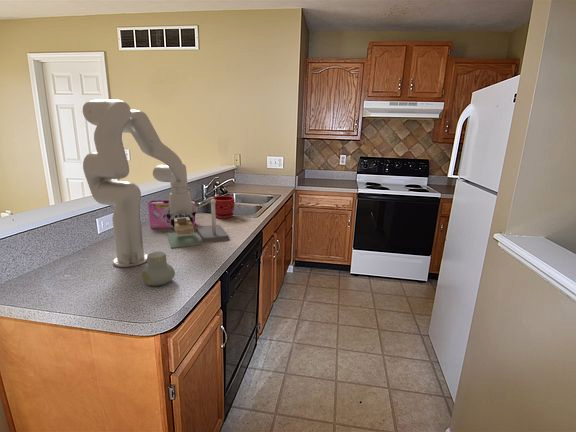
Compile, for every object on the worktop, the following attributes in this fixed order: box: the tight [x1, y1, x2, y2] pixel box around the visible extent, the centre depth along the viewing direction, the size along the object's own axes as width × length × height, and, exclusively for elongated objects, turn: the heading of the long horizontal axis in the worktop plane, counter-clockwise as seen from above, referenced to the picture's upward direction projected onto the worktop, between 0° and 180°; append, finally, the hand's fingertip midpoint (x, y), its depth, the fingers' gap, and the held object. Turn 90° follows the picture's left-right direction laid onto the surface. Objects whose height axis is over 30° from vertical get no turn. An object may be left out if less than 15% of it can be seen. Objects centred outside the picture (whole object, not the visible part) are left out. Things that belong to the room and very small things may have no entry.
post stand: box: [196, 198, 230, 243], centre depth 155 cm, size 20×12×20 cm, turn 25°
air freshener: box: [140, 251, 176, 287], centre depth 106 cm, size 11×8×10 cm
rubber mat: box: [166, 230, 202, 249], centre depth 150 cm, size 22×13×1 cm, turn 25°
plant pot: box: [212, 195, 236, 219], centre depth 191 cm, size 13×13×12 cm
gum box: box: [147, 199, 197, 229], centre depth 170 cm, size 24×8×14 cm, turn 100°
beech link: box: [174, 217, 195, 235], centre depth 149 cm, size 15×7×4 cm, turn 25°
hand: (182, 225), depth 152 cm, fingers closed on beech link, 7 cm apart
